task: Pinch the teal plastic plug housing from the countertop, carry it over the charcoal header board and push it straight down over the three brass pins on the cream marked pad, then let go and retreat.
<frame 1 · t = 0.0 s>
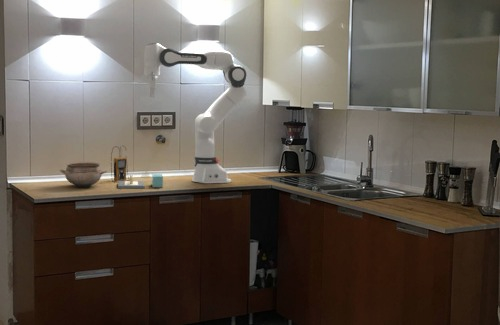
hand: (151, 97, 382), 48 cm above the worktop, fingers open, 8 cm apart
header board: (131, 186, 368), on the worktop
plug housing: (157, 186, 371), on the worktop
cooking pot: (83, 186, 362), on the worktop
multimeter: (124, 181, 385), on the worktop
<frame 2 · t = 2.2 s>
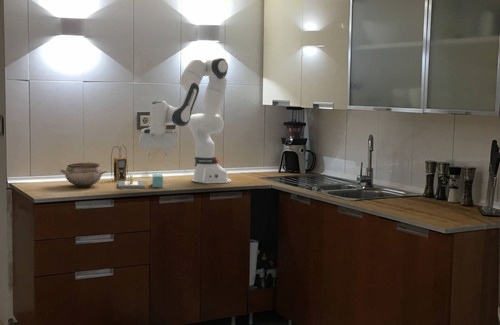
hand: (157, 155, 369), 17 cm above the worktop, fingers open, 8 cm apart
nothing on the worktop moved.
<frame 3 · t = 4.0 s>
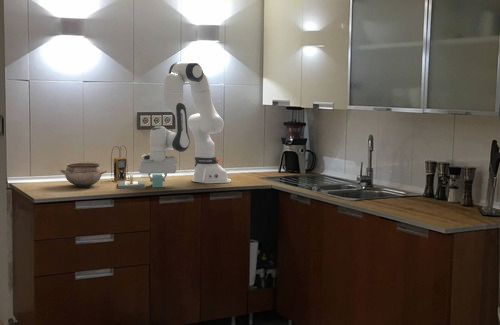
hand: (157, 181, 370), 3 cm above the worktop, fingers closed on plug housing, 5 cm apart
plug housing: (157, 186, 371), on the worktop, touching gripper
everything else where it was.
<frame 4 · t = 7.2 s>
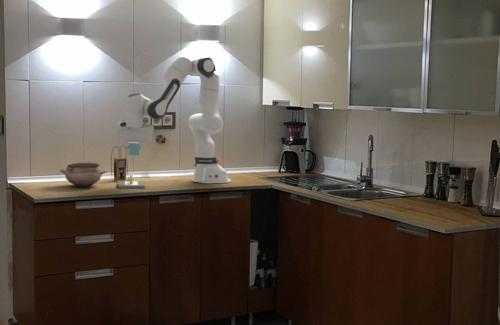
hand: (133, 149, 366), 20 cm above the worktop, fingers closed on plug housing, 5 cm apart
plug housing: (133, 154, 366), point 18 cm above the worktop, touching gripper
everything else where it was.
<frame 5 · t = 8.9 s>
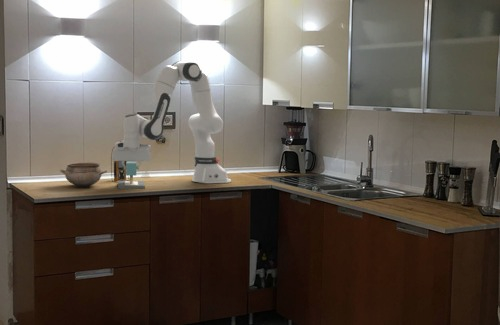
hand: (131, 169, 367), 9 cm above the worktop, fingers closed on plug housing, 5 cm apart
plug housing: (131, 174, 367), point 7 cm above the worktop, touching gripper
everything else where it was.
when the fingers open (4 cm above the worktop, at t = 10.2 s): plug housing stays where it is, resting on header board.
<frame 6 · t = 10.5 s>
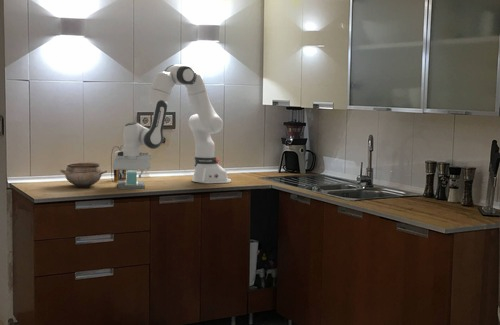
hand: (131, 177, 368), 4 cm above the worktop, fingers open, 8 cm apart
plug housing: (131, 183, 368), point 2 cm above the worktop, touching header board
everything else where it was.
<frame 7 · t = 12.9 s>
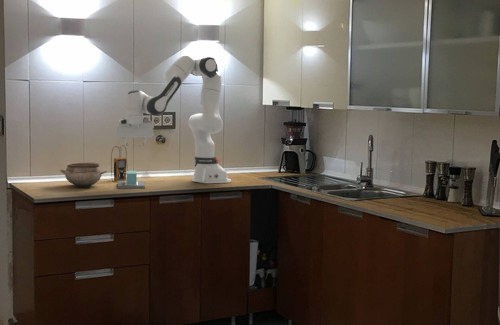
hand: (135, 145, 368), 22 cm above the worktop, fingers open, 8 cm apart
nothing on the worktop moved.
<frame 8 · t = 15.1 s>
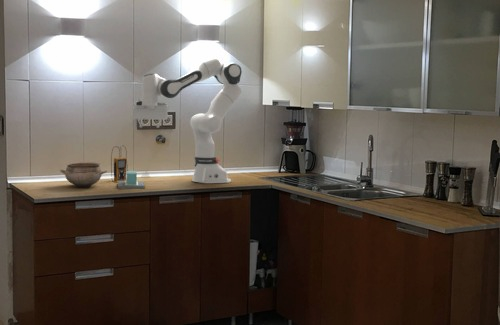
hand: (149, 127, 380), 31 cm above the worktop, fingers open, 8 cm apart
nothing on the worktop moved.
at the end: plug housing 0.1 cm off-centre on the header board, point 1.6 cm above the header board's base; plug housing tilted 0°; the gripper is holding nothing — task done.
